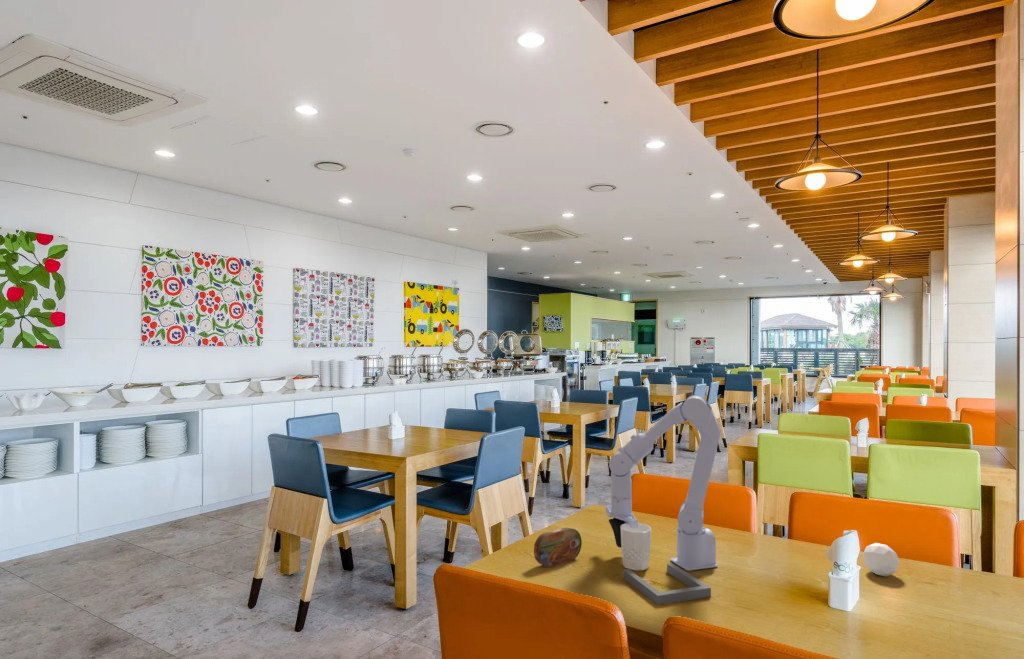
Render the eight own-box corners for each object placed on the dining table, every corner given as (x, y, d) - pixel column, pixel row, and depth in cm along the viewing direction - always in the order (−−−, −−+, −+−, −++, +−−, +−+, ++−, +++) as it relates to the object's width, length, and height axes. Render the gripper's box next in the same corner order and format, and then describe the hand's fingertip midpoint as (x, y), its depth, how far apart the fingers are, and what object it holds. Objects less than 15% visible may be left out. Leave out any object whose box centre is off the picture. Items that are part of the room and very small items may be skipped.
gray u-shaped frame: (672, 571, 146) (672, 563, 146) (710, 596, 132) (710, 587, 132) (623, 577, 142) (623, 569, 142) (657, 604, 127) (657, 595, 127)
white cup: (651, 572, 145) (651, 533, 145) (620, 570, 147) (620, 530, 147) (650, 561, 153) (650, 523, 153) (620, 559, 154) (620, 521, 155)
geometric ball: (873, 586, 144) (852, 558, 146) (881, 566, 150) (860, 540, 151) (903, 580, 139) (880, 551, 140) (909, 560, 144) (887, 533, 146)
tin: (539, 570, 146) (539, 537, 147) (531, 566, 149) (531, 534, 149) (582, 557, 155) (582, 526, 156) (574, 554, 158) (574, 523, 158)
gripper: (596, 491, 163) (596, 539, 163) (621, 504, 150) (621, 557, 149) (618, 489, 166) (618, 536, 165) (644, 502, 152) (644, 554, 151)
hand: (621, 546), depth 157 cm, fingers closed
